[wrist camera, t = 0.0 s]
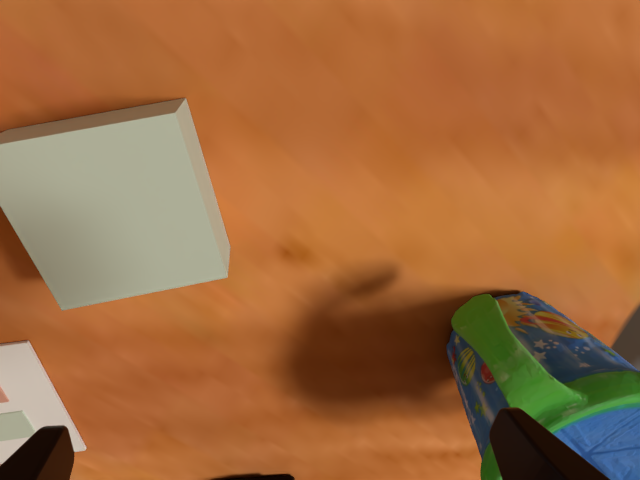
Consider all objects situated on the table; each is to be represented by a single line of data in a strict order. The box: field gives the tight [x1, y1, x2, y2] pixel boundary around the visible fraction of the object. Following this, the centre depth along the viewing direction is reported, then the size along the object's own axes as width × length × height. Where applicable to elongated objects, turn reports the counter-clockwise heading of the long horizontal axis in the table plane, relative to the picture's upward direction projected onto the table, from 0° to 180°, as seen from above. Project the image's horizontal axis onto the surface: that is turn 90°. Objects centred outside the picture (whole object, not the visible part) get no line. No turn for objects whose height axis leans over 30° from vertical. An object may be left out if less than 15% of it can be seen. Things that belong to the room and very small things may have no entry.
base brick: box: [0, 98, 230, 310], centre depth 20 cm, size 8×8×3 cm
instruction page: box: [0, 340, 87, 464], centre depth 26 cm, size 10×7×1 cm
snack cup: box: [447, 292, 640, 480], centre depth 25 cm, size 16×10×10 cm
